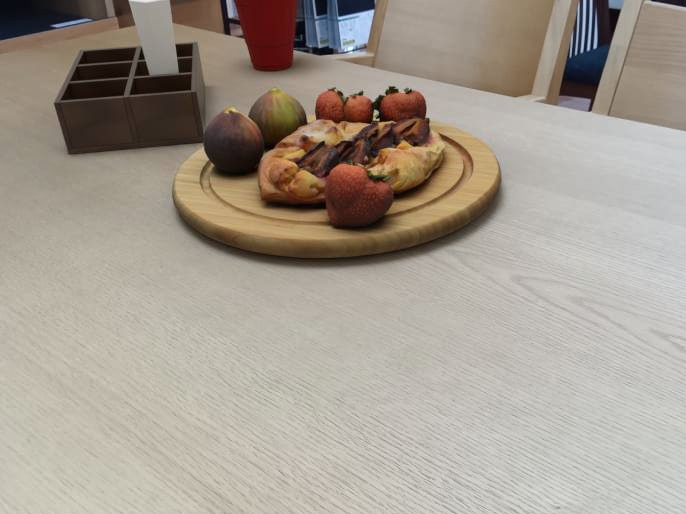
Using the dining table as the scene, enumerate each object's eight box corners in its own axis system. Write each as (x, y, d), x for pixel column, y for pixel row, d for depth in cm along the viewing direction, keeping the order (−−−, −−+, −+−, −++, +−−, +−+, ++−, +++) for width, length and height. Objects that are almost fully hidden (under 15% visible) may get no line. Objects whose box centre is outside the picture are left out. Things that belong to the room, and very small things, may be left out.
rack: (68, 154, 83) (53, 102, 79) (91, 94, 100) (79, 50, 97) (205, 142, 85) (196, 91, 82) (204, 85, 102) (197, 41, 99)
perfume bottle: (179, 99, 95) (154, -35, 86) (196, 107, 92) (171, -30, 83) (146, 107, 93) (116, -30, 83) (162, 116, 90) (132, -25, 81)
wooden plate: (510, 269, 61) (519, 171, 56) (127, 264, 63) (102, 169, 58) (492, 131, 86) (497, 54, 81) (220, 131, 88) (207, 56, 83)
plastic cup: (326, 64, 109) (319, -29, 102) (265, 80, 103) (254, -17, 96) (281, 51, 115) (272, -37, 108) (222, 66, 110) (208, -27, 102)
